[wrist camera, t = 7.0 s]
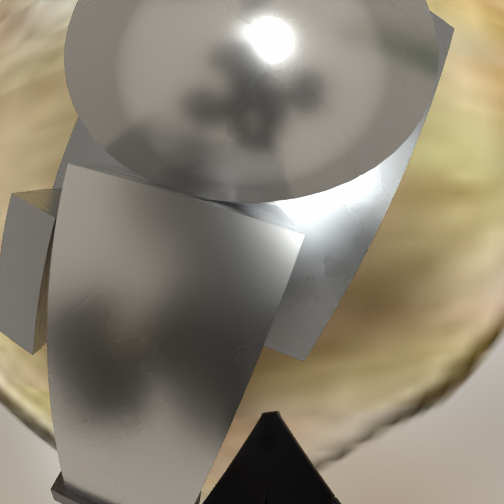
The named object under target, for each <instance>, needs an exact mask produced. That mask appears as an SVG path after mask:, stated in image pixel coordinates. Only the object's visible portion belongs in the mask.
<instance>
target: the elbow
mask: <svg viewBox="0 0 504 504" xmlns="http://www.w3.org/2000/svg"><path fill="white" fill-rule="evenodd" d="M438 61H439V55H438V40H437V35H436V30H435V26H434V22H433V18H432V16H431V13H430V11H429V8H428V5H427V3H426V1H425V0H78V2H77V4H76V6H75V9H74V11H73V14H72V17H71V20H70V23H69V26H68V31H67V36H66V42H65V57H64V66H65V74H66V82H67V86H68V90H69V93H70V96H71V99H72V103H73V105H74V107H75V109H76V111H77V113H78V115H79V117H80V119H81V121H82V123H83V124H84V126H85V127H86V128H87V130H88V131H89V132H90V134H91V135H92V137H93V138H94V139H95V140H96V141H97V142H98V143H99V144H100V145H101V146H102V147H103V149H104V150H105V151H107V152H108V153H109V154H110V155H111V156H112V157H113V158H114V159H116V160H117V161H118V162H120V163H121V164H122V165H124V166H125V167H122V166H107V165H90V164H69V163H68V165H67V169H66V173H65V178H64V182H63V187H62V192H61V197H60V202H59V208H58V213H57V219H56V226H55V232H54V240H53V247H52V256H51V266H50V277H49V291H48V312H47V357H48V378H49V391H50V402H51V411H52V419H53V427H54V433H55V440H56V446H57V451H58V457H59V461H60V466H61V472H60V474H59V476H58V477H57V479H56V481H55V483H54V484H53V486H52V488H51V492H52V495H53V498H54V500H56V501H58V502H60V503H62V504H199V502H200V496H201V489H202V487H203V485H204V483H205V481H206V478H207V476H208V474H209V472H210V470H211V467H212V465H213V463H214V461H215V459H216V456H217V454H218V452H219V450H220V448H221V445H222V443H223V441H224V439H225V436H226V434H227V432H228V429H229V427H230V425H231V422H232V420H233V418H234V416H235V413H236V411H237V409H238V406H239V404H240V401H241V399H242V397H243V394H244V392H245V390H246V387H247V385H248V382H249V380H250V377H251V375H252V373H253V370H254V368H255V365H256V363H257V360H258V358H259V355H260V353H261V350H262V348H263V345H264V343H265V340H266V338H267V335H268V333H269V330H270V328H271V325H272V322H273V320H274V317H275V315H276V312H277V309H278V307H279V304H280V302H281V299H282V296H283V294H284V291H285V288H286V286H287V283H288V280H289V278H290V275H291V272H292V269H293V267H294V264H295V261H296V258H297V256H298V253H299V250H300V247H301V245H302V242H303V239H304V236H305V235H304V234H303V232H302V231H301V230H300V229H299V228H298V227H297V226H296V225H295V224H294V223H293V222H292V221H291V219H290V218H289V217H288V216H287V215H286V214H285V213H284V212H283V211H282V210H281V209H280V208H279V207H278V206H275V205H272V204H269V203H266V202H274V201H282V200H289V199H297V198H301V197H305V196H309V195H313V194H317V193H320V192H324V191H328V190H330V189H332V188H335V187H337V186H340V185H342V184H345V183H347V182H350V181H352V180H354V179H356V178H358V177H359V176H361V175H363V174H365V173H366V172H368V171H370V170H372V169H373V168H375V167H376V166H378V165H379V164H380V163H381V162H383V161H384V160H385V159H387V158H388V157H389V156H390V155H392V154H393V153H394V152H395V151H396V150H397V149H398V148H399V147H400V146H401V145H402V144H403V143H404V142H405V141H406V140H407V139H408V138H409V136H410V135H411V134H412V132H413V131H414V130H415V128H416V127H417V125H418V124H419V122H420V121H421V119H422V118H423V116H424V114H425V111H426V109H427V107H428V105H429V103H430V100H431V98H432V95H433V91H434V87H435V84H436V80H437V72H438Z"/></svg>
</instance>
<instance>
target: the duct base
mask: <svg viewBox="0 0 504 504" xmlns="http://www.w3.org/2000/svg"><path fill="white" fill-rule="evenodd" d="M429 11H430V10H429ZM430 13H431V16H432V18H433V22H434V26H435V30H436V35H437V40H438V55H439V61H438V72H437V80H436V84H435V87H434V91H433V95H432V98H431V100H430V103H429V105H428V107H427V109H426V111H425V114H424V116H423V118H422V119H421V121H420V122H419V124H418V125H417V127H416V128H415V130H414V131H413V132H412V134H411V135H410V136H409V138H408V139H407V140H406V141H405V142H404V143H403V144H402V145H401V146H400V147H399V148H398V149H397V150H396V151H395V152H394V153H393V154H392V155H390V156H389V157H388V158H387V159H385V160H384V161H383V162H381V163H380V164H379V165H378V166H376V167H375V168H373V169H372V170H370V171H368V172H366V173H365V174H363V175H361V176H359V177H358V178H356V179H354V180H352V181H350V182H347V183H345V184H342V185H340V186H337V187H335V188H332V189H330V190H328V191H324V192H320V193H317V194H313V195H309V196H305V197H301V198H297V199H289V200H282V201H274V202H266V203H269V204H272V205H275V206H278V207H279V208H280V209H281V210H282V211H283V212H284V213H285V214H286V215H287V216H288V217H289V218H290V219H291V221H292V222H293V223H294V224H295V225H296V226H297V227H298V228H299V229H300V230H301V231H302V232H303V234H304V235H305V236H304V239H303V242H302V245H301V247H300V250H299V253H298V256H297V258H296V261H295V264H294V267H293V269H292V272H291V275H290V278H289V280H288V283H287V286H286V288H285V291H284V294H283V296H282V299H281V302H280V304H279V307H278V309H277V312H276V315H275V317H274V320H273V322H272V325H271V328H270V330H269V333H268V335H267V338H266V340H265V343H264V345H263V346H265V347H267V348H270V349H272V350H275V351H278V352H280V353H283V354H285V355H288V356H291V357H293V358H296V359H299V360H301V361H304V360H305V359H306V357H307V355H308V354H309V352H310V351H311V349H312V347H313V346H314V344H315V343H316V341H317V339H318V338H319V336H320V334H321V333H322V331H323V329H324V328H325V326H326V324H327V323H328V321H329V319H330V318H331V316H332V314H333V312H334V311H335V309H336V307H337V305H338V304H339V302H340V300H341V298H342V297H343V295H344V293H345V291H346V289H347V288H348V286H349V284H350V282H351V280H352V279H353V277H354V275H355V273H356V271H357V269H358V267H359V265H360V264H361V262H362V260H363V258H364V256H365V254H366V252H367V250H368V248H369V246H370V244H371V242H372V240H373V238H374V236H375V234H376V232H377V230H378V228H379V226H380V224H381V222H382V220H383V218H384V216H385V214H386V211H387V209H388V207H389V205H390V203H391V201H392V199H393V196H394V194H395V192H396V190H397V187H398V185H399V183H400V181H401V178H402V176H403V174H404V171H405V169H406V167H407V164H408V162H409V160H410V157H411V155H412V152H413V150H414V147H415V145H416V142H417V140H418V137H419V135H420V132H421V130H422V127H423V124H424V122H425V119H426V116H427V114H428V111H429V108H430V105H431V103H432V100H433V97H434V94H435V91H436V88H437V85H438V82H439V79H440V76H441V73H442V70H443V66H444V63H445V60H446V56H447V53H448V50H449V46H450V43H451V39H452V35H453V32H454V28H453V27H452V26H450V25H449V24H448V23H446V22H445V21H444V20H442V19H441V18H440V17H438V16H437V15H435V14H434V13H432V12H431V11H430ZM68 163H69V164H90V165H107V166H122V167H125V166H124V165H122V164H121V163H120V162H118V161H117V160H116V159H114V158H113V157H112V156H111V155H110V154H109V153H108V152H107V151H105V150H104V149H103V147H102V146H101V145H100V144H99V143H98V142H97V141H96V140H95V139H94V138H93V137H92V135H91V134H90V132H89V131H88V130H87V128H86V127H85V126H84V124H83V123H82V121H81V119H80V117H78V119H77V122H76V124H75V127H74V129H73V132H72V134H71V137H70V139H69V142H68V145H67V147H66V150H65V153H64V156H63V159H62V161H61V164H60V167H59V170H58V173H57V177H56V180H55V183H54V186H53V189H45V190H36V191H27V192H19V193H12V194H11V198H10V203H9V207H8V212H7V217H6V222H5V228H4V233H3V240H2V246H1V253H0V331H1V332H2V333H3V334H5V335H6V336H7V337H8V338H10V339H11V340H12V341H14V342H15V343H16V344H18V345H19V346H21V347H22V348H23V349H25V350H26V351H28V352H29V353H30V354H32V355H33V354H34V353H36V352H37V351H38V350H39V349H40V348H41V347H42V346H43V345H45V344H46V343H47V312H48V291H49V277H50V266H51V256H52V247H53V240H54V232H55V226H56V219H57V213H58V208H59V202H60V197H61V192H62V187H63V182H64V178H65V173H66V169H67V165H68Z"/></svg>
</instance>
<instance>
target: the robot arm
mask: <svg viewBox="0 0 504 504" xmlns="http://www.w3.org/2000/svg"><path fill="white" fill-rule="evenodd" d="M202 504H341V503H340V502H339V500H338V499H337V498H336V497H335V495H334V494H333V493H332V491H331V490H330V488H329V487H328V485H327V484H326V483H325V481H324V480H323V478H322V477H321V475H320V474H319V473H318V471H317V470H316V468H315V467H314V465H313V464H312V462H311V461H310V460H309V458H308V457H307V455H306V454H305V452H304V451H303V449H302V448H301V446H300V445H299V443H298V442H297V440H296V439H295V437H294V436H293V434H292V433H291V431H290V430H289V428H288V427H287V425H286V424H285V422H284V421H283V419H282V417H281V415H280V412H278V411H273V412H265V413H262V415H261V417H260V419H259V421H258V422H257V424H256V425H255V427H254V429H253V430H252V432H251V433H250V435H249V436H248V438H247V440H246V441H245V443H244V444H243V446H242V447H241V449H240V450H239V452H238V453H237V455H236V456H235V458H234V459H233V461H232V462H231V464H230V465H229V467H228V468H227V470H226V471H225V473H224V474H223V476H222V477H221V478H220V480H219V481H218V483H217V484H216V485H215V487H214V488H213V490H212V491H211V492H210V494H209V495H208V497H207V498H206V499H205V501H204V502H203V503H202Z"/></svg>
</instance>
